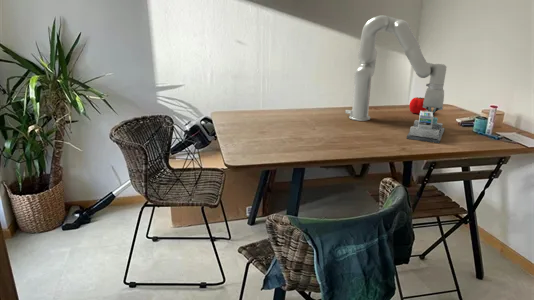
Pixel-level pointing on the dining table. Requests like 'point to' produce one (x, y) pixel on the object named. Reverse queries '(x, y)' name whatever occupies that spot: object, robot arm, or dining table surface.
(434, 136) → the base
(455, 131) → the dining table surface
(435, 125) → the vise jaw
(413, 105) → the tomato
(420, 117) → the light bulb box
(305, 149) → the dining table surface
